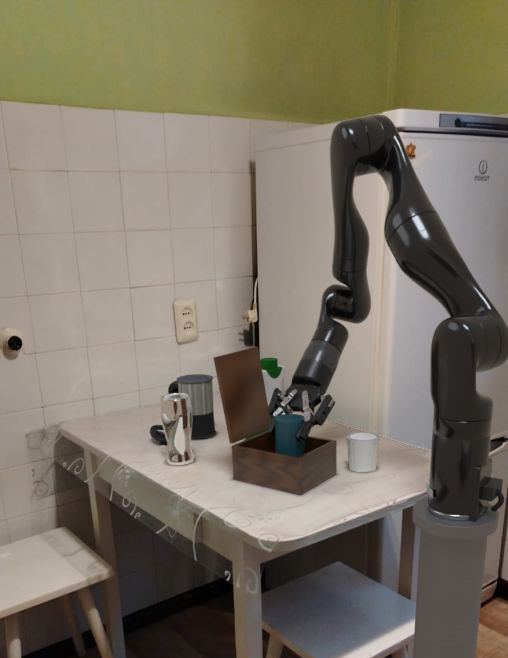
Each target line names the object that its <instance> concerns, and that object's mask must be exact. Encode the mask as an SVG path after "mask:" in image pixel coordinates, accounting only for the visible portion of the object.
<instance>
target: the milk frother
mask: <svg viewBox="0 0 508 658" xmlns="http://www.w3.org/2000/svg"><path fill="white" fill-rule="evenodd" d="M213 379H214V376H213V375H210V374H206V373H205V374H203V373H194V374H192V373H191V374H185V375H180V376H178V377H176V380H174V381H172V382H171V383H170V384H169V385H168V389H167V390H168V391H167V394H171V393H186V394H189V395H190V400H191V406H192V416H193V423H192V434H191V440H201V439H207V438H211V437H213V436H215V435H216V434H217V431H216V425H215V413H214V411H215V409H214V390H213V389H214V388H213V387H214V385H213ZM149 435H150V436H151V438H152V439H153V440H154V441H156V442H159V443H160V444H163V443H166V444H167V441H166V437H165V433H164V430H163V425H162V424H153V425H152V426H151V427H150V428H149Z"/></svg>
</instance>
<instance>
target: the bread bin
mask: <svg viewBox="0 0 508 658" xmlns="http://www.w3.org/2000/svg"><path fill="white" fill-rule="evenodd" d="M268 432H269V431H265V432H263V433H261V434H258V435H256V436H254V437H251V438H249V439H246V438H245V439H243V440H241V441H238V442H236V443H234V444H232V445H231V460H232V461H231V462H232V477H233V478H232V479H233V480H235V481H240V482H244V483H249V484H252V485H256V486H261V487H265V488H268V489H269V488H270V489H273V490H277V491H282V492H286V493H290V494H294V495H298V496H301V495H303V494H305V493H306V492H308V491H309V490H311V489H314V488H315V487H316V486H319V485H320V484H322V483H323V482H325V481H327V480H329V479H330V478H332V477H334V476H335V475H337V440H335V439H330V438H325V437H317V436H311V435H308V437H307V439H306V440H305V455H303V456H301V457H299V458H298V457H293V456H288V455H283V454H278V453H276V450H275V438H274V437H271V436H270V435H269V433H268Z"/></svg>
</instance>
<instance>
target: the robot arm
mask: <svg viewBox="0 0 508 658" xmlns="http://www.w3.org/2000/svg"><path fill="white" fill-rule="evenodd" d="M329 167H330V168H329V169H330V170H329V171H330V187H331V201H332V211H333V213H332V214H333V232H334V233H333V248H332V250H333V251H332V263H331V275H332V277H333V279H334V280H336V281H338V282H339V283H341V284H337V283H334V284H333V283H332V284H331V285H329V286H327V287H326V288H325V289H324V291H323V293H322V295H321V300H320V309H319V315H318V321H317V324H316V328H315V330H314V332H313V335H312V337H311V339H310V341H309V343H308V345H307V347H306V348H305V349H304V352H303V353H302V356H301V358H300V360H299V362H298V364H297V367H296V369H295V371H294V373H293V375H292V378H291V383H290V386H288V388H287V389H285V390H283V391H280V390H279V388H276V389H274V392H273V395H272V398H271V401H270V404H269V407H268V410H267V412H268V413H269V414H270V415H271V416H272V418H273V419H272V421H271V423H270V425H269V428H268V431H269V432H268V433H269V435H270V436H271V437H274V438H275V417H276V416H279V415H280V414H281V413H282V412H283V411H284V412H283V413H282V414H281V415H284V414H295V412H296V413H299V412H301V413H302V414H303V416H304V420H305V422H303V421H302V424H301V426H300V428H299V430H298V433H297V435H296V439H297V440H298V441H299V442H301V443H303V442H304V440H306V439H307V437H308V436H310V435H309V434H310V432H311V430H312V428H314V427H315V426H319V427H321V426H323V425H324V424H325V422H326V420H327V418H328V417H329V415H330V413H331V411H332V410H333V408H334V407H335V405H336V401H335V400H334V398H333V397H332V395H331V394H326V393H327V391H328V390H329V386H330V384H331V382H332V380H333V377H334V375H335V373H336V371H337V368H338V366H339V362H340V358H341V356H342V354H343V352H344V349H345V347H346V346H347V343H348V340H349V335H350V334H349V330H348V328H347V327H346V326H345V325H344V324H343V323H341V322H346V323H350V324H356V325H358V324H361V323H364V321H366V319H367V318H368V317H369V315H370V313H371V309H372V296H371V291H370V286H369V279H368V273H367V272H368V271H367V270H368V262H369V254H370V234H369V230H368V227H367V225H366V223H365V221H364V219H363V217H362V215H361V213H360V211H359V209H358V207H357V204H356V202H355V199H354V198H355V197H354V186H355V185H354V184H355V179H356V178H358V177H362V176H368V175H373V174H377V175H379V176H380V177H381V178H382V179H383V182H384V184H385V186H386V189H387V191H388V202H387V206H386V212H385V218H384V225H383V234H384V239H385V242H386V244H387V247H388V248H389V250H390V252H391V254H392V257H393V258H394V260H395V262H396V264H397V265H398V267H399V268H400V270H401V271H402V273H403V274H404V275H405V276H407V277H408V279H409V280H411V281H412V283H415V284H416V285H417V286H418V287H420V288H421V289H422V290H423V291H425V292H426V293H427V294H428V295H430V296H431V297H432V298H433V299H435V300H436V301H437V302H438V303H439V304H440V305H441V306H442V308H444V310H445V312H447V314H448V316H449V317H447V318H444V319H443V320H442V321H440V322H439V323H438V325H436V327H435V329H434V332H433V335H432V338H431V344H430V356H429V357H430V358H429V359H430V362H429V363H430V371H429V373H430V374H429V375H430V377H429V378H430V379H429V382H430V383H429V384H430V385H429V388H430V389H429V391H430V397H431V400H432V404H433V416H432V417H433V420H432V431H431V432H432V434H431V446H430V447H431V448H430V462H429V463H430V467H429V479H428V483H426V489H425V490H426V492H427V494H428V496H427V497H428V503H427V510H428V511H429V512H430V513H431V514H433V515H434V516H437V517H439V518H443V519H447V520H454V521H473V522H476V521H477V520H478V519H479V518H480V517H481V516H483V514H484V513H485V512H486V511H487V510H488V503H489V502H493V501H494V500H495V499H498V500H497V502H496V503H495V504H494V505H493V507H492V508H491V510H492V511H493V512H495V511H496V510H499V509H500V508H501V507H503V505H504V503H505V497H504V496H505V495H504V493H503V482H504V480H503V478H497V477H493V476H492V470H493V462H494V461H493V458H492V457H490V450H491V439H492V438H491V437H492V429H493V420H494V419H493V418H494V417H493V416H494V409H495V403H494V402H495V401H494V400H493V398H492V397H491V396H490V395H488V394H485V393H481V392H478V390H477V373H482V372H487V371H491V370H494V369H497V368H500V367H502V366H503V365H504V364H505V363H506V362H507V361H508V325H507V323H506V321H505V319H504V318H503V316H502V315H501V313H500V312H499V310H498V309H497V308H496V306H495V305H494V303H493V302H492V301H491V299H490V298H489V297H488V295H487V294H486V293H485V291H484V290H483V289H482V287H481V285H479V283H478V281H477V280H476V278H475V277H474V275H473V274H472V272H471V271H470V269H469V267H468V265H467V263H466V261H465V260H464V258H463V256H462V255H461V253H460V252H459V250H458V248H457V247H456V245H455V243H454V241H453V238H452V237H451V236H450V233H449V231H448V229H447V227H446V225H445V223H444V222H443V220H442V218H441V217H440V215H439V213H438V211H437V209H436V208H435V206H434V205H433V203H432V201H431V200H430V198H429V196H428V194H427V192H426V190H425V189H424V187H423V185H422V183H421V181H420V179H419V177H418V174H417V173H416V170H415V169H414V166H413V164H412V161H411V159H410V157H409V154H408V151H407V149H406V147H405V144H404V142H403V139H402V136H401V135H400V132H399V131H398V129H397V127H396V125H395V123H394V122H393V121H392V119H391V118H390V117H388V116H387V115H384V114H372V115H367V116H362V117H355V118H350V119H346V120H341V121H339V122H338V123H337V124H336V125H335V126H334V128H333V130H332V133H331V136H330V142H329ZM342 284H343V285H342ZM339 321H341V322H339ZM317 406H318V408H317V410H316V407H317Z"/></svg>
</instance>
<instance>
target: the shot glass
mask: <svg viewBox="0 0 508 658" xmlns="http://www.w3.org/2000/svg"><path fill="white" fill-rule="evenodd" d="M380 439H381V437H380V434H377V433H375V432H369V431H357V432H351V433H348V434H347V435H346V446H347V458H348V469H349V470H351V472H352V471H353V472H355V473H356V472H357V473H371V472H374V471H375V470H376V469H377V463H378V457H379V456H378V455H379V447H380Z"/></svg>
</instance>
